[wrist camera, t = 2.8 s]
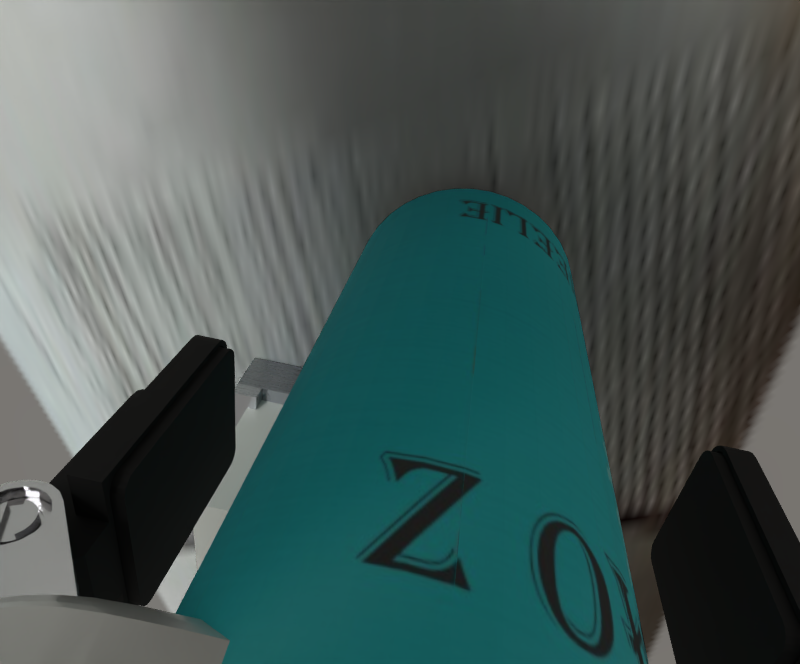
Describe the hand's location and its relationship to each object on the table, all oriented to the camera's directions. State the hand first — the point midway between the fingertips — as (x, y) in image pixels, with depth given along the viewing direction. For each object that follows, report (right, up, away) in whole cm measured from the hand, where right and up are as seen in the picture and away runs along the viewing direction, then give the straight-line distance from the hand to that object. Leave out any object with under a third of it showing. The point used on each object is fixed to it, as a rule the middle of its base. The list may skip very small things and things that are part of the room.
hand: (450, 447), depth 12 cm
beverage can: (+1, +4, +6) cm, 7 cm away
